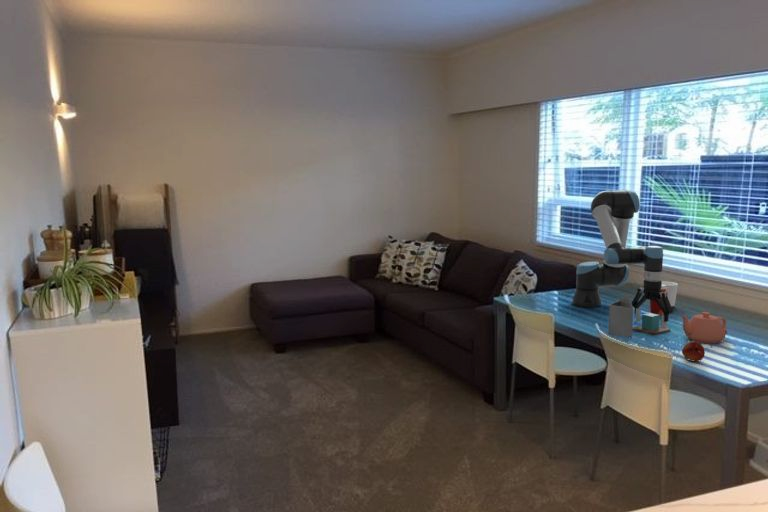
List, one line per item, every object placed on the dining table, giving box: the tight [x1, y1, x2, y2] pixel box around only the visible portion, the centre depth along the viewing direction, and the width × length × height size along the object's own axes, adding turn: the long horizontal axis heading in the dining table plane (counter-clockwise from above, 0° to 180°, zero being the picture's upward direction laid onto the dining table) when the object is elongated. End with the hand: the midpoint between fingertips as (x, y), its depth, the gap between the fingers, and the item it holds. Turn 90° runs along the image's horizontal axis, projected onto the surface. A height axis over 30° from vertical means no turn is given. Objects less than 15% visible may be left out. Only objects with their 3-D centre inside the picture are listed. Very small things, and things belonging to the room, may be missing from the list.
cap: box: [641, 312, 660, 331], centre depth 276 cm, size 5×5×7 cm
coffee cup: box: [649, 284, 667, 316], centre depth 306 cm, size 8×8×15 cm
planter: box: [608, 291, 634, 339], centre depth 273 cm, size 16×8×19 cm, turn 178°
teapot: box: [680, 311, 728, 344], centre depth 260 cm, size 22×16×12 cm
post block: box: [633, 324, 671, 336], centre depth 276 cm, size 12×12×6 cm
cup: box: [662, 281, 679, 309], centre depth 320 cm, size 10×10×13 cm
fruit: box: [681, 341, 706, 362], centre depth 234 cm, size 8×8×8 cm
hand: (650, 324), depth 276 cm, fingers open, 13 cm apart
